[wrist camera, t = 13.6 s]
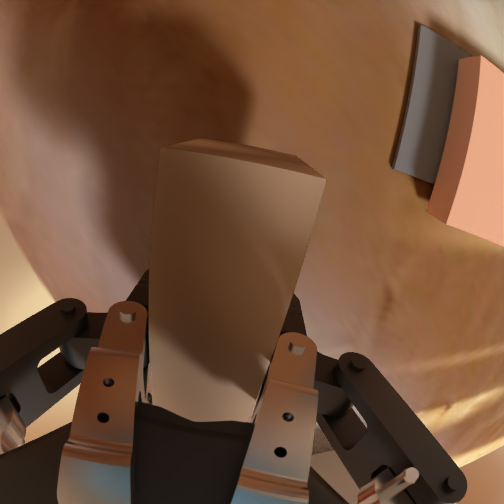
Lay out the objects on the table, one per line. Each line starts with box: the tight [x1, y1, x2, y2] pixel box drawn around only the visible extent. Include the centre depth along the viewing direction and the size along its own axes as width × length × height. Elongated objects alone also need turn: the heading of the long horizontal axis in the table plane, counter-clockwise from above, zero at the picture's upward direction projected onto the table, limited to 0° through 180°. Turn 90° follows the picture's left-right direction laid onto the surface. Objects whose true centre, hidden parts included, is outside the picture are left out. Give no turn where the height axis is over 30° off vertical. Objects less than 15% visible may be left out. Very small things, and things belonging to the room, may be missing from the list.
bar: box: [149, 138, 326, 422], centre depth 10 cm, size 4×12×5 cm, turn 169°
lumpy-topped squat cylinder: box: [310, 450, 360, 504], centre depth 22 cm, size 10×13×9 cm
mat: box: [392, 25, 473, 185], centre depth 12 cm, size 14×8×1 cm, turn 79°
